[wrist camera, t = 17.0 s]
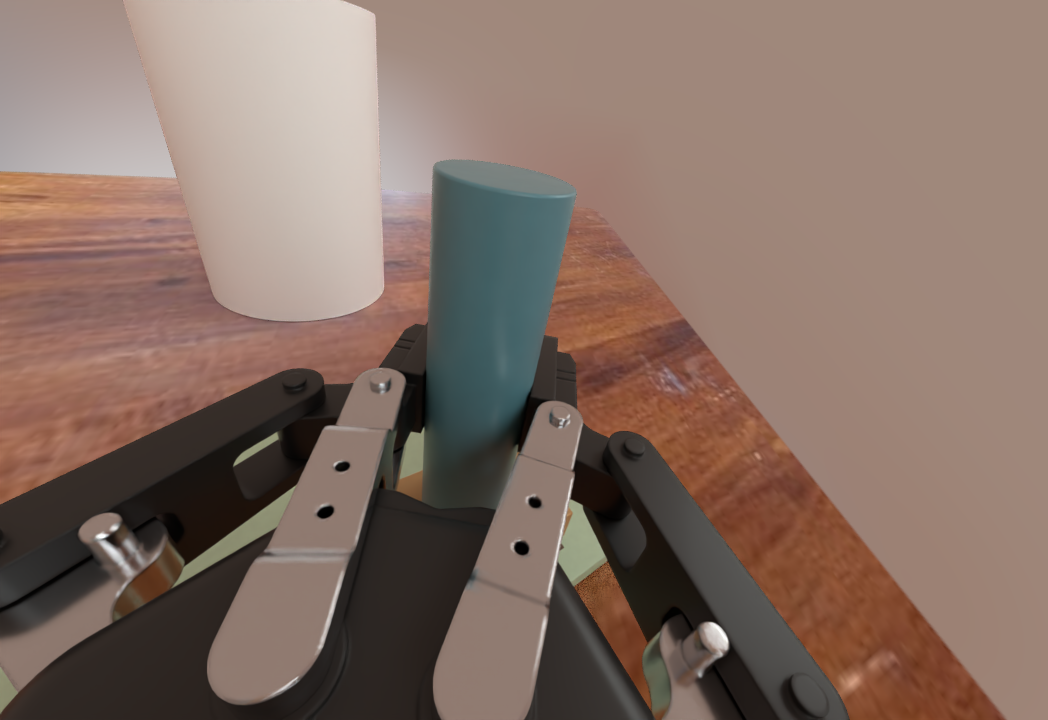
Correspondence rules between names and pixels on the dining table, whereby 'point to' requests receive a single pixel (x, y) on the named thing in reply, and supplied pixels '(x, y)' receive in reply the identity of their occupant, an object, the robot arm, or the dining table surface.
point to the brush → (485, 323)
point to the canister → (272, 147)
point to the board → (577, 543)
